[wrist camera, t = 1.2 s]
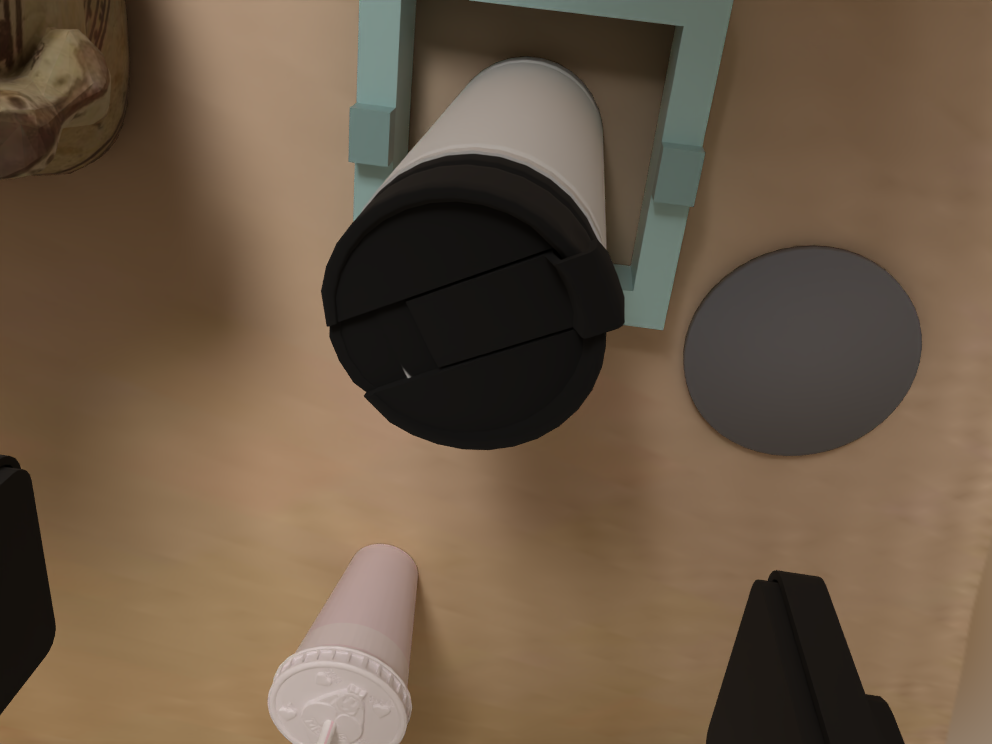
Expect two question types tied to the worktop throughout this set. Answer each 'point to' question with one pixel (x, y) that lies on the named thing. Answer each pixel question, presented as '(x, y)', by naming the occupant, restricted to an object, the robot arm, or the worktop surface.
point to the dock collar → (677, 144)
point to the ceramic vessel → (60, 83)
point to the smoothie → (353, 658)
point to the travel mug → (483, 266)
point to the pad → (802, 350)
